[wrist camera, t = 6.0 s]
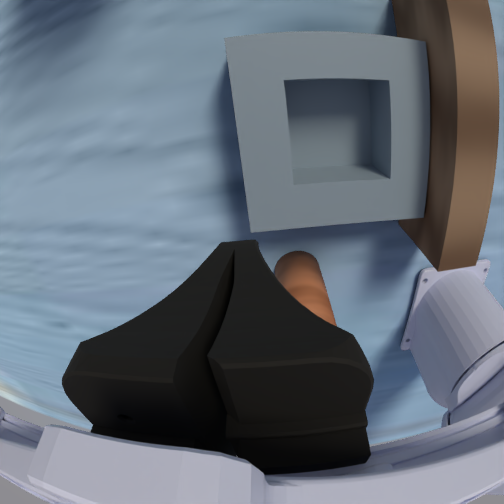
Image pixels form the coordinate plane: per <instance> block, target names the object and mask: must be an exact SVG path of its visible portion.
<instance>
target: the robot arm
mask: <svg viewBox="0 0 504 504" xmlns="http://www.w3.org/2000/svg"><path fill="white" fill-rule="evenodd" d="M489 267H490V261H489V260H488V259H484V260H478V261H477V263H476V266H471V267H465V268H459V269H453V270H446V271H440V272H437V270H436V269H435V268H434V267H432V268H425V269H423V270H422V271H421V272H420V274H419V278H418V283H417V287H416V291H415V295H414V299H413V303H412V307H411V311H410V315H409V318H408V322H407V325H406V329H405V332H404V335H403V339H402V342H401V345H400V347H401V349H402V350H408V349H410V350H411V353H412V355H413V357H414V359H415V362H416V364H417V366H418V369H419V371H420V374H421V376H422V379H423V381H424V383H425V386H426V388H427V391H428V393H429V395H430V396H431V398H432V399H433V400H434V401H435V402H436V403H438V404H439V405H441V406H443V407H445V408H448V411H447V412H446V413H445V414H444V415H443V418H442V424H441V428H439V429H436V430H433V431H430V432H427V433H423V434H420V435H416V436H413V437H409V438H406V439H402V440H398V441H394V442H390V443H386V444H381V445H377V446H372V447H370V446H369V441H368V437H367V432H366V427H367V425H368V421H367V416H366V412H365V409H366V406H367V403H368V401H369V398H370V395H371V392H372V389H373V383H374V378H373V375H372V371H371V368H370V365H369V363H368V361H367V359H366V357H365V355H364V353H363V351H362V349H361V347H360V345H359V344H358V342H357V340H356V339H355V337H354V335H353V334H351V333H349V332H347V331H345V330H343V329H341V328H339V327H337V326H335V325H333V324H331V323H329V322H327V321H325V320H323V319H322V318H320V317H319V316H317V315H316V314H314V313H313V312H312V311H310V310H309V309H308V308H306V307H305V306H304V305H302V304H301V303H300V302H299V301H298V300H297V299H295V298H294V297H293V296H292V295H291V294H290V293H289V292H288V291H287V290H286V289H285V288H284V286H283V285H282V284H281V283H280V282H279V281H278V279H277V278H276V277H275V275H274V274H273V273H272V271H271V270H270V268H269V267H268V265H267V263H266V262H265V260H264V258H263V256H262V254H261V252H260V250H259V246H258V242H257V241H256V240H244V241H232V242H221V243H220V244H219V245H218V246H217V248H216V249H215V250H214V251H213V252H212V253H211V254H210V256H209V257H208V258H207V259H206V260H205V261H204V262H203V263H202V264H201V266H200V267H199V268H198V269H197V270H196V271H195V272H194V273H193V274H192V275H191V276H190V277H189V278H188V279H187V280H186V281H185V282H183V283H182V284H181V285H180V286H179V287H178V288H177V289H176V290H174V291H173V292H172V293H171V294H169V295H168V296H167V297H166V298H164V299H163V300H162V301H160V302H159V303H157V304H156V305H154V306H153V307H151V308H150V309H148V310H147V311H145V312H143V313H142V314H140V315H139V316H137V317H135V318H134V319H132V320H130V321H128V322H126V323H124V324H122V325H120V326H118V327H116V328H114V329H112V330H110V331H108V332H105V333H103V334H101V335H98V336H96V337H93V338H91V339H88V340H86V341H83V342H81V343H80V344H79V346H78V348H77V350H76V352H75V354H74V356H73V358H72V359H71V361H70V363H69V365H68V367H67V369H66V371H65V373H64V375H63V377H62V386H63V388H64V391H65V393H66V395H67V396H68V398H69V399H70V400H71V402H72V403H73V404H74V405H75V406H76V407H77V408H78V409H79V410H80V412H81V413H82V414H83V415H84V416H85V417H86V418H87V419H88V420H89V421H90V422H91V423H92V424H93V427H92V430H91V433H90V432H86V431H82V430H78V429H74V428H70V427H67V426H59V425H47V426H45V428H43V427H40V426H38V425H35V424H32V423H29V422H27V421H24V420H21V419H19V418H17V417H14V416H12V415H9V414H7V413H5V412H4V410H3V409H2V408H1V407H0V475H1V476H2V477H3V478H5V479H7V480H8V481H10V482H12V483H13V484H15V485H17V486H18V487H20V488H22V489H24V490H26V491H27V492H29V493H31V494H33V495H35V496H37V497H38V498H41V499H42V500H44V501H47V502H48V503H51V504H467V503H469V502H471V501H473V500H474V499H477V498H479V497H480V496H482V495H484V494H492V495H504V309H503V308H502V307H501V305H500V304H499V303H498V301H497V300H496V299H495V298H494V296H493V295H492V294H491V293H490V291H489V290H488V289H487V288H486V286H485V285H484V282H485V279H486V276H487V273H488V270H489ZM424 279H425V280H424ZM236 455H237V456H236Z"/></svg>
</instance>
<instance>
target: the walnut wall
mask: <svg viewBox="0 0 504 504" xmlns="http://www.w3.org/2000/svg"><path fill="white" fill-rule="evenodd" d="M392 5H393V11H394V17H395V24H396V31H397V37H401V38H407V39H413V40H419V41H424V42H426V50H427V60H428V72H429V89H430V152H429V170H428V183H427V193H426V203H425V211H424V218H413V219H400V220H399V223H398V224H399V225H400V226H401V228H402V229H403V230H404V231H405V232H406V233H407V235H408V236H409V237H410V238H411V239H412V241H413V242H414V243H415V244H416V245H417V247H418V248H419V249H420V250H421V251H422V253H423V254H424V255H425V256H426V258H427V259H428V260H429V261H430V263H431V264H432V265H433V266H434V268H435V269H436V270H437V272H440V271H446V270H453V269H459V268H465V267H471V266H476V263H477V260H478V256H479V252H480V248H481V245H482V241H483V236H484V232H485V228H486V223H487V218H488V213H489V208H490V203H491V197H492V191H493V184H494V177H495V169H496V159H497V148H498V133H499V79H498V64H497V53H496V45H495V37H494V30H493V24H492V19H491V13H490V8H489V4H488V0H392Z"/></svg>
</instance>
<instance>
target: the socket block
mask: <svg viewBox="0 0 504 504" xmlns="http://www.w3.org/2000/svg"><path fill="white" fill-rule="evenodd" d="M224 39H225V46H226V54H227V61H228V68H229V76H230V83H231V90H232V97H233V105H234V112H235V119H236V127H237V134H238V141H239V149H240V156H241V164H242V171H243V178H244V186H245V193H246V200H247V208H248V215H249V223H250V230H251V233H254V232H264V231H274V230H284V229H295V228H305V227H316V226H327V225H339V224H350V223H362V222H374V221H387V220H400V219H413V218H424V211H425V203H426V193H427V183H428V170H429V152H430V89H429V72H428V60H427V50H426V42H424V41H419V40H413V39H407V38H401V37H393V36H385V35H376V34H366V33H352V32H327V31H304V32H279V33H265V34H254V35H244V36H236V37H229V38H224Z"/></svg>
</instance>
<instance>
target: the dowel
mask: <svg viewBox="0 0 504 504" xmlns="http://www.w3.org/2000/svg"><path fill="white" fill-rule="evenodd" d="M275 277H276V278H277V279H278V281H279V282H280V283H281V284H282V285H283V286H284V288H285V289H286V290H287V291H288V292H289V293H290V294H291V295H292V296H293V297H294V298H295V299H297V300H298V301H299V302H300V303H301V304H302V305H304V306H305V307H306V308H308V309H309V310H310V311H312V312H313V313H314V314H316V315H317V316H319V317H320V318H322V319H323V320H325V321H327V322H329V323H331V324H333V325H335V326H337V325H336V322H335V318H334V315H333V311H332V308H331V304H330V301H329V297H328V294H327V290H326V287H325V284H324V280H323V277H322V274H321V271H320V267H319V264H318V261H317V260H316V258H315V257H314V256H313V255H311V254H310V253H307V252H304V251H293V252H290V253H287V254H285V255H284V256H282V257H281V258H280V259H279V260H278V262H277V264H276V266H275Z"/></svg>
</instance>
